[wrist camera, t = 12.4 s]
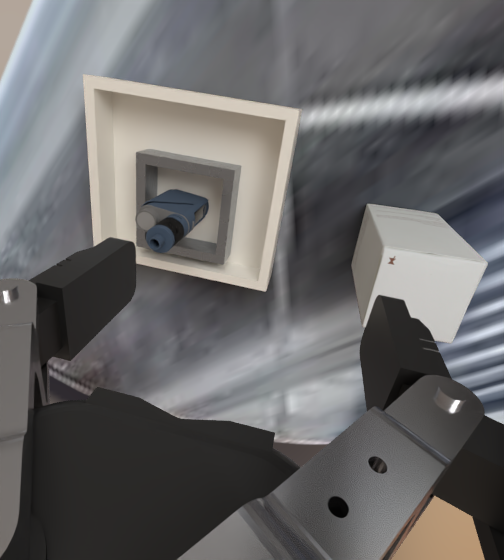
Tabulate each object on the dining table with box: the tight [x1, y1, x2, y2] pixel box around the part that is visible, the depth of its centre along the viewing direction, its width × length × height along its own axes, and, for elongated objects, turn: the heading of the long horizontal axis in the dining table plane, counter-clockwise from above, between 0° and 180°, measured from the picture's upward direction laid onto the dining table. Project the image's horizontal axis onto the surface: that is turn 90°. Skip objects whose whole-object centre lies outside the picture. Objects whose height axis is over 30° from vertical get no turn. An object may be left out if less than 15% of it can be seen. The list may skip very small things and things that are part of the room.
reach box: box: [83, 74, 302, 292], centre depth 38 cm, size 18×20×4 cm
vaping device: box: [135, 189, 209, 253], centre depth 35 cm, size 3×5×12 cm, turn 76°
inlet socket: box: [136, 149, 241, 265], centre depth 39 cm, size 10×10×3 cm
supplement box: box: [351, 204, 488, 343], centre depth 33 cm, size 7×7×13 cm
